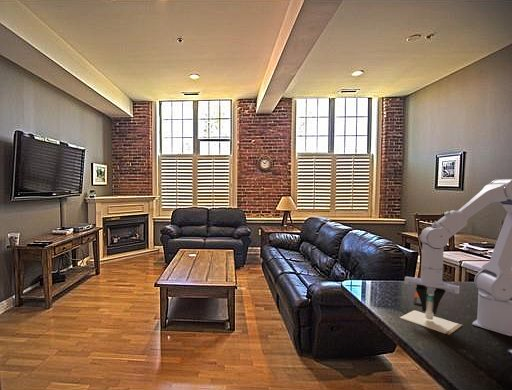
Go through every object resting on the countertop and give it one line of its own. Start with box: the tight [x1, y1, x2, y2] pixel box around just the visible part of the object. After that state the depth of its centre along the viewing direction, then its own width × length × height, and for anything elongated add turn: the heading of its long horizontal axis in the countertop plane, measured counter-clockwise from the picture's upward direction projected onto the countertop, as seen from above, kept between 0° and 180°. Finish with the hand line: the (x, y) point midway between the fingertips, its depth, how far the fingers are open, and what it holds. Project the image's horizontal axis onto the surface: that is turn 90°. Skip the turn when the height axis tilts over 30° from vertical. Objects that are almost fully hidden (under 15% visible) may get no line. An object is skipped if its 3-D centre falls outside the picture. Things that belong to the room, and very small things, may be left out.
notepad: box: [399, 309, 463, 336], centre depth 98 cm, size 14×10×1 cm
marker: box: [424, 293, 435, 320], centre depth 98 cm, size 2×2×7 cm
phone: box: [413, 291, 434, 307], centre depth 118 cm, size 6×1×15 cm
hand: (429, 311), depth 98 cm, fingers closed on marker, 2 cm apart
